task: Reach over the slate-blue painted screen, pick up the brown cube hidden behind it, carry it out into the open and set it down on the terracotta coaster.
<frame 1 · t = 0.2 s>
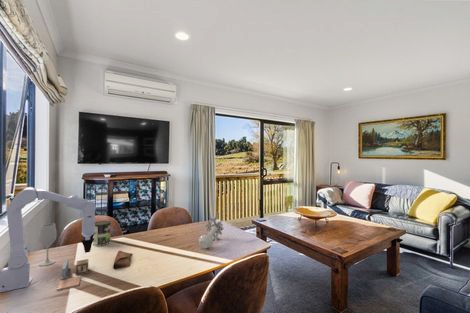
hand: (87, 249, 118), 10 cm above the table, fingers open, 7 cm apart
flower vase: (211, 243, 155), on the table
wineglass: (47, 263, 123), on the table
brown cube: (82, 271, 114), on the table
coffee can: (101, 243, 152), on the table
sunglasses case: (123, 262, 127), on the table
coaster: (69, 283, 103), on the table
screen: (65, 274, 111), on the table
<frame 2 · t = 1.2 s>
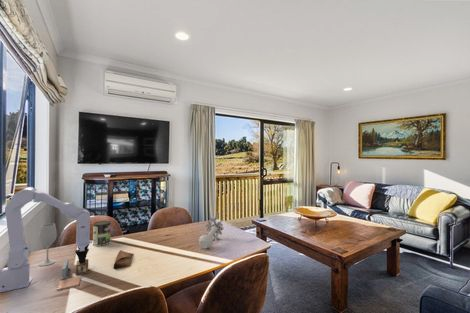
hand: (82, 260, 115), 6 cm above the table, fingers open, 7 cm apart
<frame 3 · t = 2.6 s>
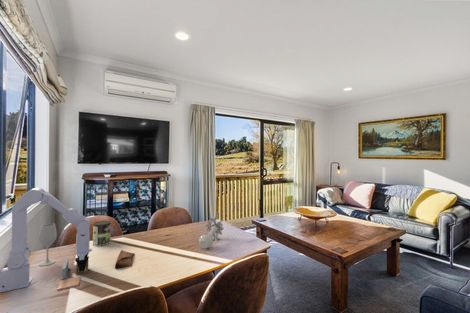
hand: (82, 268, 114), 1 cm above the table, fingers closed on brown cube, 5 cm apart
brown cube: (82, 271, 115), on the table, touching gripper
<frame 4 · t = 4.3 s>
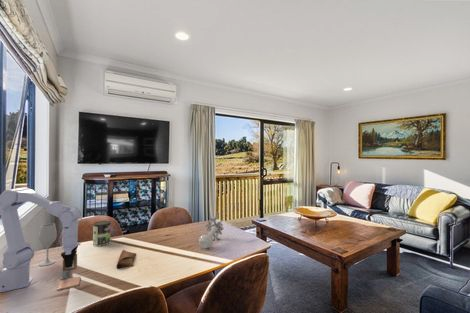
hand: (69, 264, 103), 9 cm above the table, fingers closed on brown cube, 5 cm apart
brown cube: (70, 267, 103), point 7 cm above the table, touching gripper
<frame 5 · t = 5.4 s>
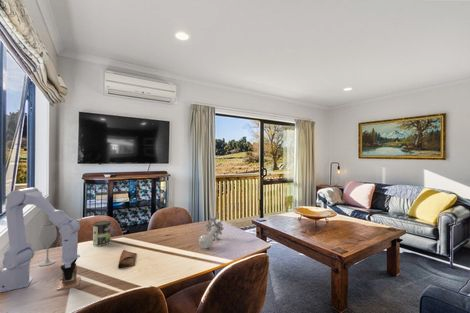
hand: (69, 276, 103), 3 cm above the table, fingers closed on brown cube, 5 cm apart
brown cube: (69, 280, 103), point 2 cm above the table, touching gripper
when the fingers open (3 cm above the table, at t = 6.3 s): brown cube stays where it is, resting on coaster.
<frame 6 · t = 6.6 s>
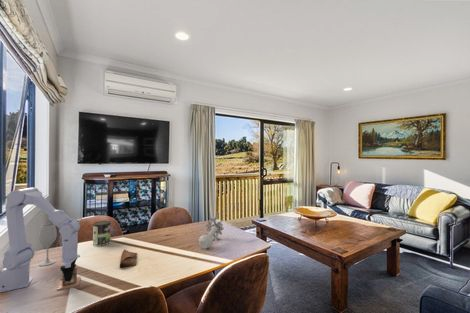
hand: (69, 276, 103), 3 cm above the table, fingers open, 7 cm apart
brown cube: (69, 282, 103), point 1 cm above the table, touching coaster
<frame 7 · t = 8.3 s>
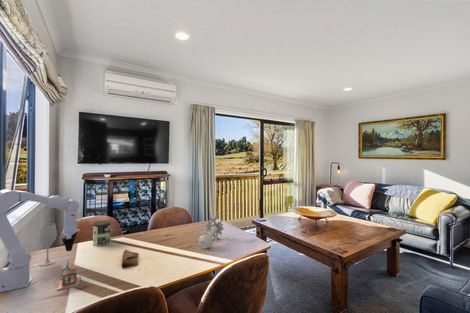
hand: (69, 248, 118), 10 cm above the table, fingers open, 7 cm apart
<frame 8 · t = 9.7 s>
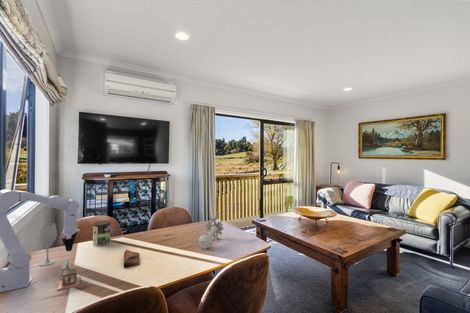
hand: (69, 248, 118), 10 cm above the table, fingers open, 7 cm apart
at the end: brown cube inside the target area on the coaster (0.2 cm from its centre), point 0.6 cm above the coaster's base; brown cube tilted 0°; the gripper is holding nothing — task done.
